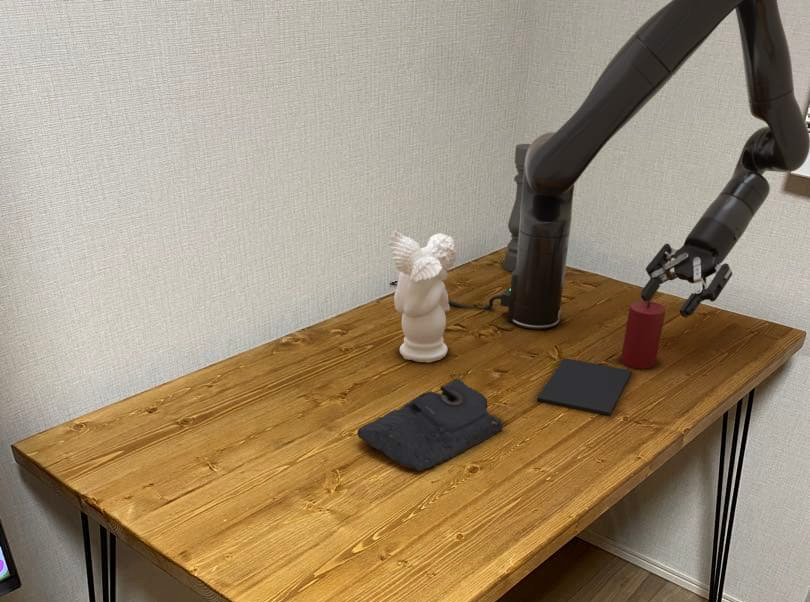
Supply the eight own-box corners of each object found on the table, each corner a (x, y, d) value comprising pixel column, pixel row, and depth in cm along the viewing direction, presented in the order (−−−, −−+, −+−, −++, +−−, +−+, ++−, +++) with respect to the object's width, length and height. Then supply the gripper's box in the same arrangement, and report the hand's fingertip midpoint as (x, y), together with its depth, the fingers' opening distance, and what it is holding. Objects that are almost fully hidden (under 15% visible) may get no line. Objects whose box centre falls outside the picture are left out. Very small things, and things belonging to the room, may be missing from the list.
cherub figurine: (445, 340, 163) (451, 218, 150) (467, 368, 153) (475, 240, 140) (381, 346, 160) (382, 222, 147) (399, 375, 150) (402, 246, 137)
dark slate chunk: (340, 440, 132) (340, 412, 129) (437, 393, 145) (439, 366, 142) (416, 479, 124) (417, 449, 121) (512, 425, 137) (515, 397, 134)
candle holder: (533, 272, 193) (546, 150, 179) (505, 272, 193) (515, 149, 179) (530, 263, 198) (543, 143, 184) (503, 262, 198) (513, 143, 184)
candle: (617, 365, 156) (627, 304, 149) (624, 352, 160) (635, 293, 154) (651, 371, 154) (663, 310, 147) (657, 358, 158) (669, 298, 152)
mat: (536, 400, 144) (537, 397, 143) (563, 361, 156) (564, 357, 156) (609, 415, 140) (610, 412, 140) (631, 373, 153) (632, 370, 152)
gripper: (679, 206, 154) (624, 283, 155) (748, 226, 145) (689, 308, 146) (692, 231, 160) (639, 306, 161) (759, 253, 151) (702, 331, 152)
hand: (663, 307), depth 154 cm, fingers open, 8 cm apart
